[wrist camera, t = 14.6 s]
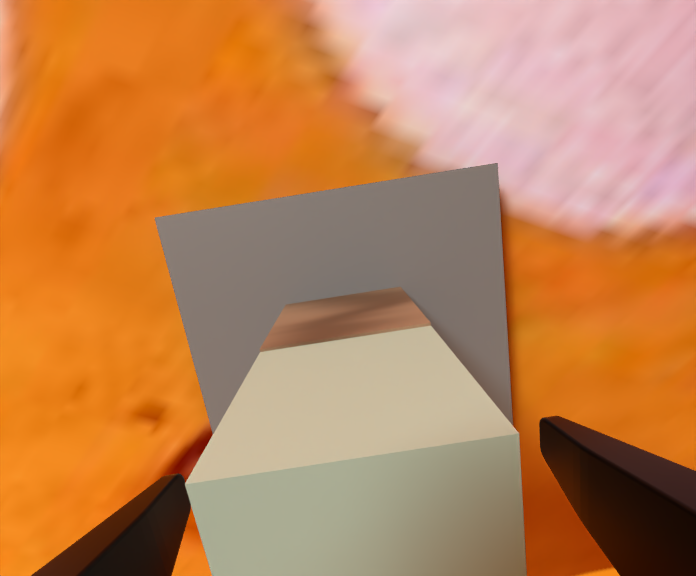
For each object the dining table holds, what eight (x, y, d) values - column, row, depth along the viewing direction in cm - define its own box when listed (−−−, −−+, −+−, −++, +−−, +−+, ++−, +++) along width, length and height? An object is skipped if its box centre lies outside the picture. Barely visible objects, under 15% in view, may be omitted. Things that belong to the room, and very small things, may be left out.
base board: (482, 167, 15) (497, 163, 14) (501, 442, 18) (514, 462, 17) (171, 217, 15) (154, 217, 14) (240, 482, 18) (232, 505, 17)
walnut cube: (400, 286, 15) (430, 322, 10) (413, 391, 16) (446, 470, 11) (285, 304, 15) (259, 349, 10) (306, 408, 16) (291, 494, 11)
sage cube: (430, 325, 10) (519, 433, 5) (446, 473, 11) (532, 679, 6) (260, 352, 10) (185, 484, 5) (292, 496, 11) (255, 719, 6)
